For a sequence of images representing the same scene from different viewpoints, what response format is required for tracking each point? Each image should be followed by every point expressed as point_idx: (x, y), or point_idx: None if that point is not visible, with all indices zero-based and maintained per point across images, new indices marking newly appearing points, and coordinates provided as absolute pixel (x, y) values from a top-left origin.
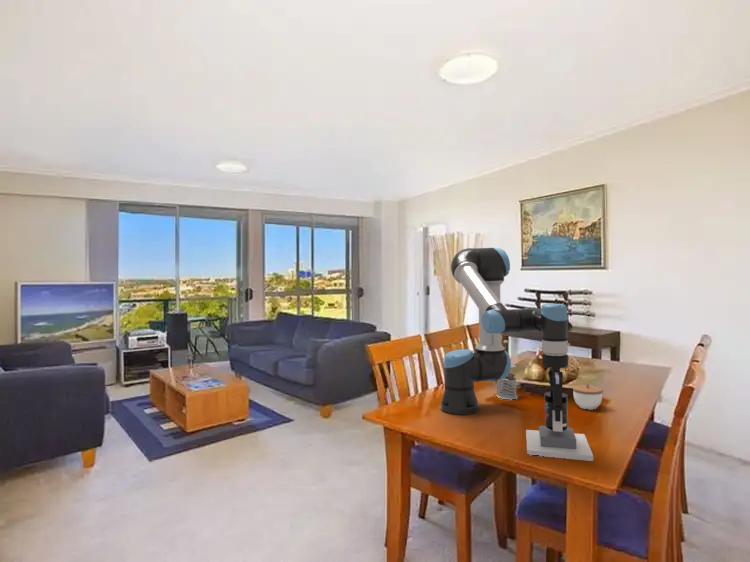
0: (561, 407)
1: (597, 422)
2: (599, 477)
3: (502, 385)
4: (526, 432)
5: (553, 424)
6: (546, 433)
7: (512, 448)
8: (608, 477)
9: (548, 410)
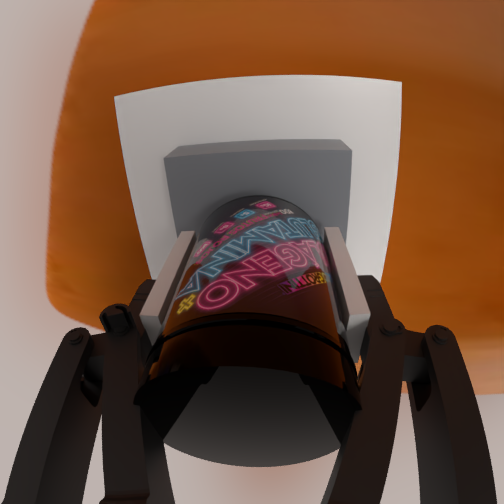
0: (83, 378)
1: (490, 331)
2: (75, 298)
3: None
4: (360, 78)
5: (171, 254)
6: (224, 186)
7: (178, 24)
8: (87, 315)
9: (184, 278)
